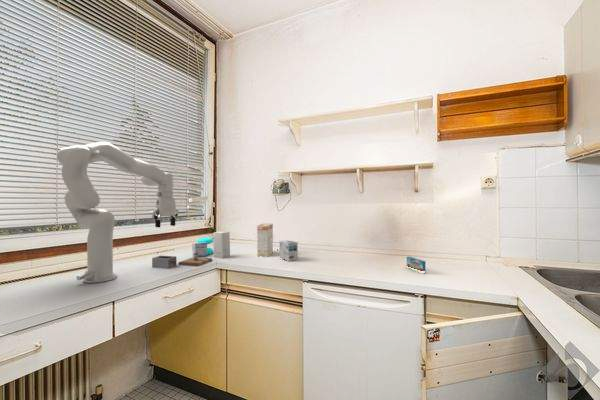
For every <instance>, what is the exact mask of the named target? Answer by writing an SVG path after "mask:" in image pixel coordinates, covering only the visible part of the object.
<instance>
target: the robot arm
mask: <svg viewBox="0 0 600 400" xmlns="http://www.w3.org/2000/svg"><path fill="white" fill-rule="evenodd" d="M56 159H57V161H58V163H59V164H61V165H62V167H61V177H62V180H63V182H64V184H65V187H66V188H67V192H66V193H65V195H64V203H65V206H66V207H67V209H68V210H69V212H70V215H72V217H73V218H74V220H75V221H76V223H77V225H78V226H80V227H81V228H82V229H84V230H85V229H86V230H88V234H87V241H86V243H87V245H86V247H87V248H86V250H87V251H86V253H87V254H86V256H87V258H86V259H87V260H86V261H87V262H86V263H87V266H86V267H87V269H86V270H85V271H84V273H83V274H79V275H77V276H76V278H75V279H76V280H77V281H83V282H84V283H89V284H94V283H95V284H96V283H97V284H98V283H103V282H108V281H111V280H115V279H116V278H117V277H118V274H117V273H115V272H114V263H113V262H114V258H113V257H114V256H113V255H114V251H113V250H114V247H113V246H114V245H113V244H114V242H113V241H114V240H113V238H114V229H115V224H116V222H115V221H116V219H115V216H114V214H113V213H112V212H111V211H109V210H108V209H103V208H97V207H99V204H100V203H101V198H100V195H99V193H98V192H97V189H96V188H95V187H94V184H93V183H92V181H91V180H90V177H89V175H88V166H89V164H92V163H97V162H104V163H106V164H108V165H110V166H112V167H113V168H115V169H116V170H117V169H118V170H119V171H121V172H122V173H126V174H130V175H136V176H140V180H141V182H142V184H143V185H145V186H149V187H155V186H157V193H156V197H157V198H156V202H155V209H153V210H152V211H150V215H151V217H152V218H153V220H154V222H155V223H154V224H155V228H161V218H162V217H170V226H172V227H175V226H176V219H177V217H178V216H179V212H180V210H178V209H177V206H176V200H175V197H174V175H173V174H172V173H171V172H170V173H169V172H164V171H163V170H162V169H160V168H159V167H157V166H155V165H154V164H151V163H149V162H147V161H143V160H141V159H138V158H135V157H134V156H132V155H130V154H129V153H127V152H125V151H124V150H122V149H120V148H118V147H117V146H116V145H113V143H109V142H107V141H100V142H94V143H90V144H89V143H88V144H83V145H73V146H72V145H71V146H67V147H63V148H61V149H60V150H58V151H57V153H56Z"/></svg>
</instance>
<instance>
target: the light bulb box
mask: <svg viewBox="0 0 600 400" xmlns="http://www.w3.org/2000/svg"><path fill="white" fill-rule="evenodd" d="M298 243H299V242H298V241H293V240H288V239H287V240H279V259H280V258H282V259H281V260H283V259H285V260H284V261H286V260H287V262H292V260H295V261H298V259H299V258H298V257H299V255H298V252H299V251H298V250H299V249H298V248H299V247H298V245H299V244H298Z"/></svg>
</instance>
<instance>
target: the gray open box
mask: <svg viewBox="0 0 600 400" xmlns="http://www.w3.org/2000/svg"><path fill="white" fill-rule="evenodd" d="M151 260H152V261H151V264H152V265H151V268H154V269H155V268H157V269H171V268H174V267H177V256H175V255H158V256H154V257H152V258H151Z"/></svg>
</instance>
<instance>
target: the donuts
mask: <svg viewBox="0 0 600 400" xmlns="http://www.w3.org/2000/svg"><path fill="white" fill-rule="evenodd" d="M200 242H206V243H207V245H210V244H212V243H213V238H211V237H200V238H198V239H196V243H200ZM211 254H214V249H213V248H211V247H207V256H208V255H211Z"/></svg>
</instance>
